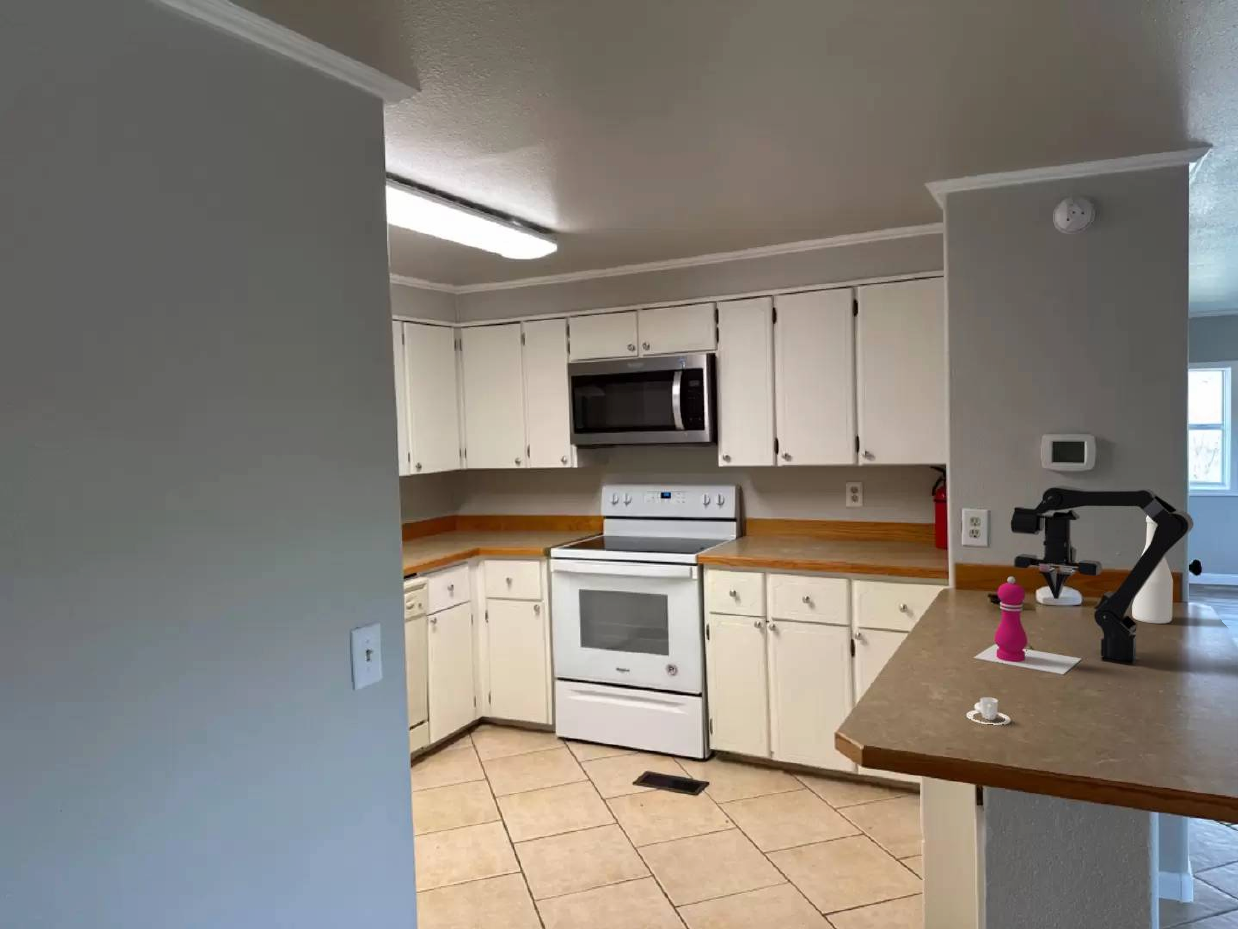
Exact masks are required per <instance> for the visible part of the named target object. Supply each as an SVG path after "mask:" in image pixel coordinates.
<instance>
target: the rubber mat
mask: <svg viewBox="0 0 1238 929" xmlns="http://www.w3.org/2000/svg"><path fill="white" fill-rule="evenodd" d="M998 648H999V647H998V646H997V644H996V643H995V644H993V645H991V646H990V647H988V648H986V649H985V650H983V651H982V652H980V653H979V654H977V655H976V656H975V655H974V657H973V659H975V660H982V661H987V662H992V663H997V662H998V663H997V664H1002V663H1003V664H1004V665H1009V666H1013V667H1020V668H1025V669H1031V670H1035V671H1042V672H1047V673H1052V674H1058V675H1065V674H1066V673H1067V672H1069V671H1070V670H1071V669H1072V668H1073V667H1074V666H1075V665H1076V664H1078V663H1079V662H1080V661H1082V658H1080V657H1074V656H1068V655H1061V654H1057V653H1051V652H1044V651H1039V650H1034V649H1026V648H1024V649H1023V651H1024V652H1025V660H1024V661H1019V662H1011V661H1005V660H1001V659H999V658H997V649H998ZM1026 650H1027V651H1026ZM1003 664H1002V665H1003Z"/></svg>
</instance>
